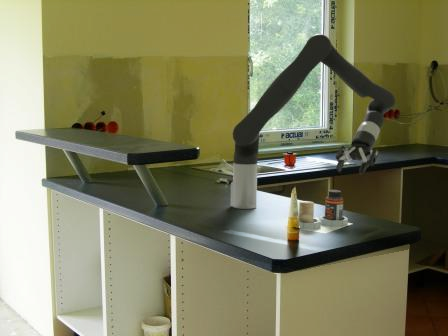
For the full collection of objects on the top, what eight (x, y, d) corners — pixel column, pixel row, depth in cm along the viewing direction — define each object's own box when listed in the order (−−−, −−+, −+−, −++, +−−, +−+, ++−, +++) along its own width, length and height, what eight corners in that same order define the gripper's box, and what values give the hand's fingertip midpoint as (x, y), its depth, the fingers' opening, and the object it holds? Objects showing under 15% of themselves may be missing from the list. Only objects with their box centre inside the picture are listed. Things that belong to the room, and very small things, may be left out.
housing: (285, 229, 218) (285, 220, 218) (314, 220, 233) (315, 211, 233) (324, 237, 209) (325, 227, 209) (353, 227, 224) (353, 217, 224)
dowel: (295, 226, 219) (296, 202, 217) (303, 223, 222) (304, 200, 221) (308, 228, 216) (309, 204, 214) (315, 226, 219) (316, 202, 218)
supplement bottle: (320, 223, 223) (322, 190, 222) (331, 220, 228) (332, 188, 226) (335, 226, 219) (336, 192, 218) (345, 223, 223) (347, 190, 222)
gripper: (344, 128, 238) (327, 163, 231) (381, 131, 229) (364, 167, 222) (351, 142, 243) (334, 176, 235) (387, 145, 234) (371, 180, 227)
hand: (349, 171), depth 229 cm, fingers open, 8 cm apart
